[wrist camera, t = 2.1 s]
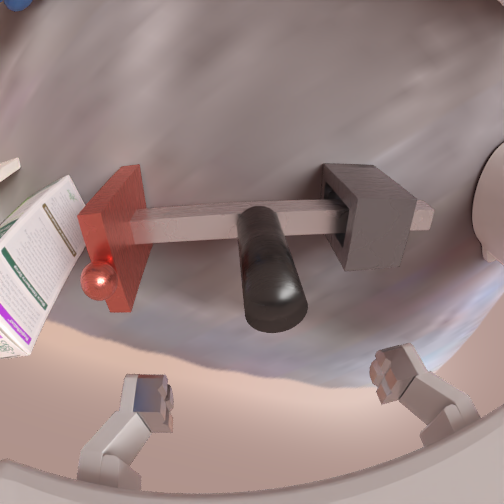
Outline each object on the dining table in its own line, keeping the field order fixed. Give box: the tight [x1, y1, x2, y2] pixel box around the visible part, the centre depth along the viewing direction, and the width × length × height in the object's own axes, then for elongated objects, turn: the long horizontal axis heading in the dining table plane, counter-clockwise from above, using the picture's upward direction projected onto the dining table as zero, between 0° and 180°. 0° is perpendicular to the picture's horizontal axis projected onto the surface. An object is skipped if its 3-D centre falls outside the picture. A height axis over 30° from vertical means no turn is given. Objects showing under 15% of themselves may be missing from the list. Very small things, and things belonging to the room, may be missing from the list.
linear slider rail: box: [77, 164, 435, 333], centre depth 18 cm, size 24×7×12 cm, turn 91°
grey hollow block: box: [320, 163, 417, 271], centre depth 21 cm, size 4×5×7 cm
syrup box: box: [0, 175, 86, 359], centre depth 17 cm, size 6×6×14 cm
